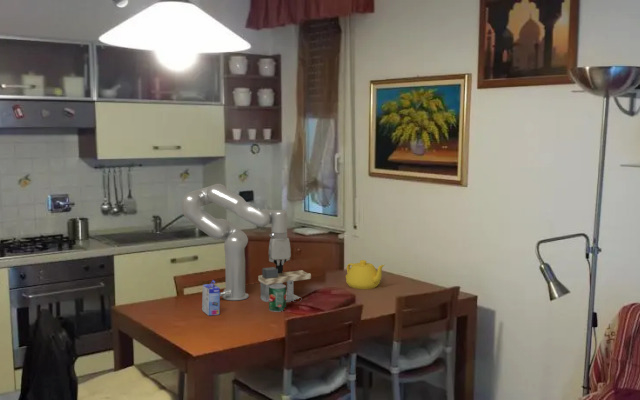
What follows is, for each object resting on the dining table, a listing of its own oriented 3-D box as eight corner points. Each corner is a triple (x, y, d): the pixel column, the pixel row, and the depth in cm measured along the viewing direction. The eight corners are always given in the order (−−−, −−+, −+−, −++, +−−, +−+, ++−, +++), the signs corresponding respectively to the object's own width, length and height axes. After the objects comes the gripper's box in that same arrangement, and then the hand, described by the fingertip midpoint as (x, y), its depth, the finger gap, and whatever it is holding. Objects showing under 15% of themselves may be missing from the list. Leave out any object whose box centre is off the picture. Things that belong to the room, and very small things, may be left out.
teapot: (393, 287, 343) (394, 261, 342) (373, 293, 330) (374, 266, 328) (355, 279, 359) (356, 255, 358) (335, 285, 346) (335, 260, 344)
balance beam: (265, 284, 309) (265, 279, 309) (258, 280, 317) (258, 275, 316) (310, 278, 320) (310, 273, 320) (302, 275, 328) (302, 270, 328)
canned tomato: (289, 309, 299) (289, 286, 298) (277, 312, 293) (277, 288, 292) (277, 306, 304) (277, 283, 303) (265, 309, 299) (265, 286, 298)
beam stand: (270, 304, 307) (270, 283, 306) (256, 296, 321) (256, 276, 320) (301, 300, 315) (301, 280, 314) (286, 292, 329) (286, 273, 328)
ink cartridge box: (220, 314, 290) (220, 282, 288) (208, 316, 287) (208, 284, 286) (213, 309, 298) (213, 278, 297) (201, 310, 296) (201, 279, 294)
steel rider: (266, 280, 310) (266, 270, 310) (262, 278, 315) (262, 268, 314) (278, 279, 313) (278, 269, 313) (273, 277, 318) (273, 267, 317)
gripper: (268, 238, 308) (268, 276, 310) (296, 235, 315) (296, 272, 317) (261, 235, 314) (262, 273, 316) (289, 233, 321) (289, 269, 324)
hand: (279, 272), depth 317 cm, fingers closed
